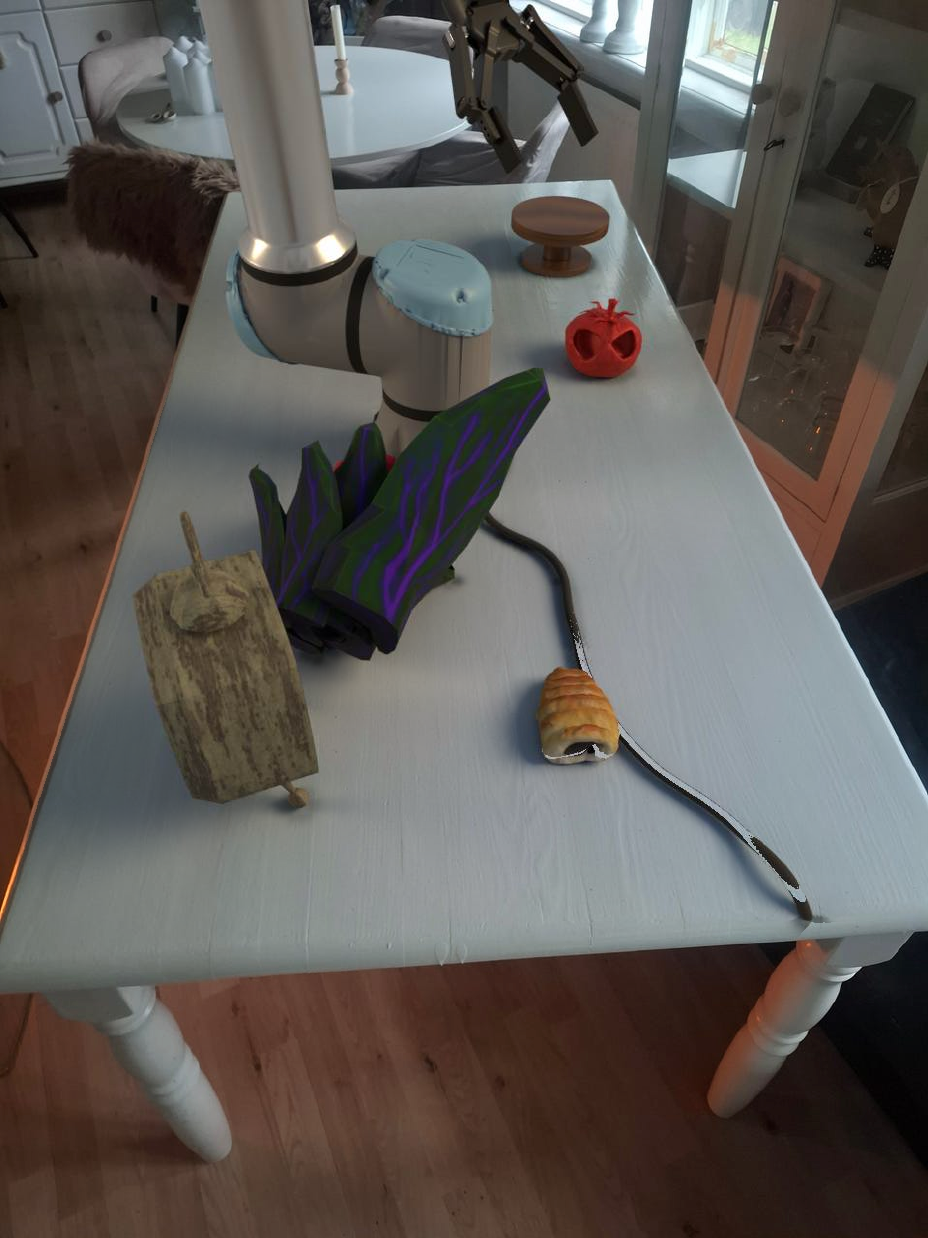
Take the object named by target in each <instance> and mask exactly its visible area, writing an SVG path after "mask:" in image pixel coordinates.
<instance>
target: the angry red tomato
mask: <svg viewBox="0 0 928 1238" xmlns="http://www.w3.org/2000/svg"><path fill="white" fill-rule="evenodd" d="M589 303H590V304H595V305H596V307H593V308H590V309H585V310H583V311H580V312H579V313H578V314H579V315H576V316H575V317H574V318H573V320H571V321H570V322H569V323H568V324H567V325H566V327H565V332H564V349H565V353H566V355H567V358H568V359H569V361H570V363H571V365H572V366H573V367H574V369H575V370H576V371H578V372H579V373H581V374H582V375H585V376H588V377H590V378H591V377H592V378H615V377H619V376H621V375H623V374H625V373H626V372H627V371H629V370H630V369H632V368H633V366H634V365H636V362H637V359H638V357H639V355H640V353H641V349H642V343H643V334H642V331H641V330H640V328H639V327H638V325H637V324H635V322H634V321H633V320H631V319H630V318H629V317H628V316H635V314H636V312H635V313H633V312H630V311H626V310H622V311H620V312H618V311H616V306H617V305H618V303H620V299H618V300H617V299H616V298H608V301H607V303H608V304H607V307H606V308H603V307H602V304H601V302H600V301H597V300H596V301H589ZM626 315H627V316H626Z"/></svg>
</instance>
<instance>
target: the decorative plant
mask: <svg viewBox="0 0 928 1238" xmlns="http://www.w3.org/2000/svg"><path fill="white" fill-rule="evenodd" d="M550 401H552V400H551V395H550V391H549V387H548V382H547V379H546V375H545V370H544V368H543V367H532V368H529V369H526V370H524V371H523V370H522V371H520V372H517V373H515V374H512V375H508V376H506V377H503V378H502V379H499V380H498V381H496V382H494V383H493V384H490V385H489V387H487V388H485V389H484V390H482V391H480V392H478V393H476V394H474V395H473V396H471V397H469V398H467V399H465V400H463V401H462V402H460V403H458V404H456V405H454V406H452V407H451V408H449V409H447V410H445V411H443V412H442V413H440V414H438V415H436V416H435V417H434V418H433V419H432V420H431V421H430V422H429V423H428V424H427V425H426V426H425V428H424V429H423V430H422V431H421V432H420V433H419V434H418V435H417V436H416V437H415V439H414V440H413V441H412V442H411V443H410V444H409V445H408V446H407V447H406V448H405V450H404V451H403V452H402V453H401V454H400V455H399V457H398V459H397V460H396V459H395V458H394V457H393V456H391V455H388V454H386V450H385V446H384V442H383V437H382V434H381V431H380V429H379V428H378V426H377V424H376V421H375V422H373V421H371V422H369V423H365V424H362V425H359V426H358V427H357V429H356V430H355V431H354V434H353V437H352V439H351V442H350V444H349V445H348V446H349V447H348V449H347V451H346V453H345V455H344V459H341V460H339V461H337V462H336V464H335V466H334V468H333V466H332V463H331V461H330V460H329V458H328V457H327V455H326V453H325V451H324V450H323V448H322V446H321V443H320V441H319V440H318V439H317V440H315V441H314V442H312V443H309V444H308V445H306V446H304V447H302V448H301V463H300V464H301V467H300V468H301V469H300V472H299V477H298V479H297V481H298V482H297V484H296V490H295V493H294V495H293V497H292V499H291V502H290V504H289V506H288V509H287V511H286V512H285V509H284V508H283V505H282V503H281V500H280V498H279V492H278V487H277V486H278V485H276V483H275V482H274V480H273V479H272V478H271V476H270V475H269V474H268V473H266V472H265V471H264V470H262V469H261V468H260V467H259V466H260V463H261V462H259V463H258V464H256V465H255V466H254V467H253V468H251V469H250V471H249V474H248V480H249V483H250V486H251V489H252V494H253V499H254V503H255V508H256V513H257V518H258V526H259V533H260V541H261V543H260V544H261V545H260V546H261V565H262V567H263V570H264V573H265V575H266V578H267V580H268V583H269V586H270V588H271V591H272V594H273V596H274V599H275V602H276V605H277V608H278V610H279V613H280V616H281V619H282V622H283V625H284V627H285V630H286V633H287V636H288V639H289V642H290V645H291V647H293V648H295V649H297V650H299V651H301V652H303V653H306V654H307V653H308V654H313V655H317V656H318V655H323V652H324V650H325V649H326V650H338V651H340V652H342V653H344V654H346V655H349V656H351V657H353V658H355V659H358V660H360V661H368V662H370V661H371V659H372V657H373V654H374V653H375V650H376V649H377V650H378V652H380V653H382V654H383V655H389V654H391V653H393V652H394V651H396V649H397V647H398V644H399V642H400V639H401V637H402V635H403V632H404V631H405V628H406V625H407V624H408V621H409V619H410V615H411V614H412V611H413V610H414V608H416V606H417V605H418V604H420V602H421V601H422V600H423V599H424V598H425V597H426V596H427V595H428V594H429V593H430V592H431V591H432V590H434V589H436V588H437V587H440V586H441V585H443V584H445V583H446V582H449V581H453V580H455V578H456V575H455V574H456V573H455V571H456V569H455V567H454V565H453V564H454V562H456V560H457V559H458V558H459V557H460V555H461V554H463V552H464V551H465V549H466V548H468V546H469V544H470V542H471V541H472V540H473V538H474V536H475V534H476V533H477V532H478V530H479V528H480V527H481V525H482V523H483V522H484V521H485V520H484V519H485V517H486V515H487V514H488V512H490V511H491V509H492V508H493V506H494V504H495V503H496V501H497V500H498V499H499V497H500V495H501V494H500V493H501V491H502V489H503V486H504V483H505V480H506V478H507V475H508V472H509V470H510V468H511V465H512V463H513V460H514V458H515V454H516V452H517V451H518V450H519V448H520V446H521V445H522V443H523V442H524V440H525V439H526V438H527V436H528V434H529V433H530V431H532V428H533V427H534V425H535V424H536V422H537V421H538V419H539V418H540V416H541V415H542V414H543V412H544V411H545V409H546V407H547V406H548V405H549V403H550Z"/></svg>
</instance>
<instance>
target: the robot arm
mask: <svg viewBox="0 0 928 1238" xmlns="http://www.w3.org/2000/svg"><path fill="white" fill-rule="evenodd" d="M440 1H441V6H442V8H443V10H444V12H445V14H446V16H447V18H448V20H449V21H450V23H451V24H450V25H449V26H448V28H447V29H446V31H445V33H444V34H443V35H442V37H441V41H442V44H443V46H444V48H445V51H446V53H447V56H448V64H449V70H450V79H451V86H452V94H453V102H454V109H455V114H456V116H457V118H458V119H460V120H464V119H466V123H468V124H469V125H470V126H474V125H475V124H477V126H478V128H479V130H480V132H481V134H482V135H483V137H484V139H485V142H486V143H487V144H488V145H489V146H492V149H493V151H494V152H495V154H496V156H497V159H498V161H499V162H500V164H501V166H502V168H503V170H504V172H505V174H506V175H509V174H512V173H513V171H515V170H516V168H518V167H519V165H520V164H521V163H522V162H524V160H525V158H524V156H523V154H522V152H521V150H520V148H519V147H518V144H517V143H516V141H515V138H514V136H513V135H512V133H511V130H510V129H509V126H508V125H507V123H506V121H505V119H504V117H503V115H502V113H501V110H500V109H499V107H498V105H492V106H491V107H490V105H491V93H492V82H493V73H494V72H493V71H494V65H496V64H498V63H500V62H508V61H512V62H513V63H515V64H516V63H517V64H519V63H521V64H522V65H524V66H525V67H526V68H527V69H529V70H530V71H531V72H533V73H534V74H535V75H537V76H538V77H539V78H540V79H542V80H543V81H544V82H546V83H547V84H548V85H550V86H551V87H553V88H554V89H555V90H556V91H557V92H559V94H558V95H557V96H556V99H557V101H558V103H559V105H560V107H561V109H562V111H563V113H564V116H565V118H566V119H567V121H568V123H569V125H570V127H571V129H572V132H573V133H574V135H575V137H576V140H577V141H578V144H579V146H580V148H583V147H585V146H587V145H588V144H589V143H590V142H591V141H592V140H593V139H594V138H596V136H597V135H598V134H599V130H598V128H597V126H596V124H595V122H594V120H593V117H592V116H591V113H590V111H589V109H588V104H587V101H586V99H585V97H584V95H583V94H582V91H581V90H580V87H579V84H578V80H579V79H580V78H581V77H582V75H583V74H584V73H585V68H584V66H583V65H582V64H581V62H580V61H579V60H578V59H577V58H576V57H575V56H574V55H573V54H572V52H571V51H570V50H569V49H568V48H567V47H566V46H565V45H564V43H562V41H561V40H560V39H559V37H557V36H556V35H555V34H554V33H553V31H552V30H551V29H550V28H549V27H548V26H547V25H546V23H545V22H543V20H542V19H541V17H540V15H539V13H538V12H537V10H536V8H535V6H534V5H533V4H531V3H529V4H527V5H526V6H525V7H524V9H523V10H522V11H520V12H516V10H515V9H514V8H513V6H512V5H511V4H510V3H511V2H510V0H440ZM197 2H198V6H199V10H200V15H201V19H202V24H203V29H204V33H205V37H206V42H207V46H208V51H209V56H210V60H211V63H212V69H213V73H214V78H215V81H216V82H215V83H216V86H217V91H218V96H219V99H220V105H221V109H222V113H223V117H224V122H225V126H226V132H227V135H228V139H229V144H230V148H231V153H232V157H233V162H234V166H235V170H236V176H237V180H238V184H239V189H240V193H241V197H242V201H243V206H244V207H243V208H244V211H245V215H246V219H247V225H246V226H245V227H244V229H243V230H242V232H241V233H240V234H239V236H238V239H237V247H236V248H235V250H234V251H233V253H232V254H231V256H230V258H229V261H228V263H227V267H226V274H225V282H226V284H227V285H228V289H227V291H225V301H226V306H227V311H228V315H229V318H230V322H231V324H232V326H233V329H234V331H235V334H236V335H237V336H238V339H240V341H241V343H242V344H243V345H244V346H245V347H246V348H247V349H248V350H249V351H250V352H252V353H253V354H255V355H257V356H259V357H262V358H265V359H270V360H273V361H277V362H279V363H281V364H282V363H283V364H287V365H290V366H291V365H292V366H294V365H295V366H296V365H302V366H303V365H304V366H310V367H316V368H321V369H329V370H335V371H341V372H348V373H354V374H360V375H367V376H373V377H378V378H380V382H381V394H382V395H381V397H382V399H381V404H380V407H379V410H378V411H377V412H376V413H375V414H374V416H373V420H372V422H375V423H376V424H377V426H378V428H379V429H380V431H381V434H382V437H383V442H384V446H385V450H386V454H388V455H391V456H393V457H394V458H395V459H396V460H397V459H398V457H399V455H400V454H401V453H402V452H403V451H404V450H405V448H406V447H407V446H408V445H409V444H410V443H411V442H412V441H413V440H414V439H415V437H416V436H417V435H418V434H419V433H420V432H421V431H422V430H423V429H424V428H425V426H426V425H427V424H428V423H429V422H430V421H431V420H432V419H433V418H434V417H435V416H436V415H438V414H440V413H442V412H443V411H445V410H447V409H449V408H451V407H452V406H454V405H456V404H458V403H460V402H462V401H463V400H465V399H467V398H469V397H471V396H473V395H474V394H476V393H478V392H480V391H482V390H484V389H485V388H487V387H489V386H490V372H491V370H490V369H491V349H492V329H493V328H492V327H493V324H494V319H495V318H494V310H493V299H492V297H493V295H492V292H493V291H492V281H491V277H490V275H489V272H488V271H487V269H486V267H485V266H484V265H483V264H482V263H480V261H479V260H478V259H477V258H476V257H475V256H474V255H473V254H471V253H469V252H468V251H466V250H464V249H462V248H461V247H458V246H456V245H453V244H450V243H447V242H442V241H438V240H434V239H428V238H413V239H412V240H411V241H410V240H406V239H399V240H394V241H391V242H389V243H387V244H385V245H383V246H381V247H380V248H379V250H377V252H376V254H375V256H372V255H366V254H360V253H359V249H358V242H357V234H356V231H355V227H354V226H353V224H352V223H351V222H350V221H349V220H348V219H346V217H344V216H342V215H341V214H340V213H338V210H337V201H336V196H335V195H336V193H335V188H334V180H333V173H332V165H331V159H330V151H329V145H328V137H327V131H326V130H327V129H326V122H325V115H324V107H323V101H322V93H321V86H320V79H319V72H318V64H317V56H316V51H315V41H314V34H313V29H312V22H311V21H312V20H311V14H310V7H309V0H197ZM521 42H522V44H521ZM470 49H471V50H472V52H473V53H472V61H471V56H470V55H471V54H470ZM472 69H473V70H472ZM489 107H490V109H489ZM465 117H466V118H465ZM483 521H485V523H487V525H488V526H490V527H491V528H492V529H493V530H495V532H497V533H499V534H500V535H502V536H504V537H505V538H507V539H510V540H512V541H514V542H516V543H518V544H520V545H523V546H525V547H527V548H528V549H529V548H530V549H531V550H533V551H535V552H537V553H538V554H540V555H541V556H543V557H544V558H545V559H546V560H547V561H548V563H550V564H551V566H552V567H553V570H555V572H556V574H557V576H558V579H559V582H560V583H559V584H560V587H561V594H562V595H561V596H562V603H563V610H564V615H565V619H566V623H567V626H568V630H569V635H570V638H571V643H572V649H573V652H574V658H575V661H576V665H577V669H579V670H582V667H581V664H580V660H579V657H578V653H577V649H576V644H575V640H576V641H577V643H579V638H580V640H581V643H580V645H581V644H582V648H583V653H584V656H585V660H586V663H587V666H588V669H589V672H590V674H591V676H592V679H593V680H594V682H595V683H596V680H595V678H594V677H593V674H592V671H591V669H590V667H589V664H588V659H587V657H586V652H585V649H584V643H583V640H582V635H581V631H580V627H579V623H578V620H577V616H576V613H575V608H574V603H573V594H572V588H571V582H570V578H569V575H568V572H567V570H566V568H565V566H564V565H563V563H562V561H561V560H560V558H559V557H558V556H557V555H556V554H555V553H554V552H553V551H551V550H550V549H549V548H548V547H546V546H545V545H543V544H542V543H541V542H538V541H536V540H534V539H533V538H530V537H527V536H526V535H523V534H521V533H519V532H517V531H514V530H512V529H510V528H508V527H507V526H506V525H503V524H502V523H501V522H499V520H498V519H496V518H495V517H494V516H493V515H492V513H491V512H490V511H489V512H488V514H487V515H486V517H485V519H484V520H483ZM573 612H574V613H573ZM570 620H571V621H570ZM576 623H577V624H576ZM571 626H572V627H571ZM578 631H579V635H580V636H579V635H578ZM573 633H574V635H575V636H576V637H575V636H574V635H573ZM577 636H578V638H577ZM574 639H575V640H574ZM579 648H580V646H579ZM582 661H583V660H582ZM617 721H618V723H619V724H620V725H621V726H622V724H621V723H620V722H619V720H618V719H617ZM622 728H623V729H624V730H625V731H626V733H627V734H628V735H629V736H630V737H631V738H632V739H633V737H632V736H631V735H630V733H628V732H627V730H626V729H625V728H624V727H623V726H622ZM618 741H620V742H621V744H622V745H623V746H624V747H625V748H626V749H627V751H629V752H630V753H631V755H632V756H633V757H634V758H635V759H636V760H637V761H638V762H639V763H640V764H641V765H643V766H644V768H645V769H646V770H648V771H649V772H650V773H651V774H653V775H654V776H655V777H656V778H658V779H659V780H660V781H661V782H663V783H665V785H667V786H669V787H670V788H672V789H673V790H674V791H676V792H677V793H679V794H681V795H682V796H684V797H685V798H687V799H688V800H690V801H692V802H694V803H695V804H696V805H698V806H699V807H701V808H702V809H703V810H705V811H706V812H707V813H709V814H710V815H712V816H713V817H714V818H715V819H717V820H718V821H719V822H720V823H721V824H722V825H724V826H725V827H726V828H727V829H728V830H729V831H731V832H732V833H733V834H734V835H735V836H736V837H737V838H738V839H740V840H741V841H742V842H743V843H744V844H745V845H746V846H747V847H749V848H750V849H751V850H752V851H754V853H756V854H757V855H758V856H759V854H758V853H757V852H756V851H755V850H754V849H753V848H752V847H751V846H750V845H749V844H748V842H747V841H746V840H745V839H744V838H743V836H742V835H741V834H740V833H739V832H738V831H737V830H736V829H735V828H734V827H733V826H732V825H731V824H730V823H729V822H728V821H727V820H726V819H725V818H724V817H723V816H721V815H720V814H719V813H718V812H716V811H715V810H714V809H712V808H711V807H710V806H708V805H707V804H705V803H704V802H703V801H701V800H700V799H698V798H697V797H695V796H693V795H692V794H690V793H689V792H687V791H686V790H684V789H683V788H681V787H679V786H678V785H676V784H675V783H673V782H672V781H670V780H669V779H668V778H666V777H665V776H663V775H662V774H661V773H659V772H658V771H657V770H655V769H654V768H653V767H652V766H651V765H650V764H648V763H647V762H646V761H645V760H644V759H643V758H642V757H641V756H640V755H639V754H638V753H637V752H636V751H635V750H634V749H633V748H632V747H631V746H630V745H629V743H628V742H627V741H626V740H625V739H624V738H623V737H622V736H621V734H620V735H619V739H618ZM635 743H636V744H637V745H638V746H639V747H640V748H641V749H642V750H643V751H644V752H645V753H646V754H647V755H648V756H649V757H650V758H652V757H651V756H650V755H649V754H648V753H647V752H646V751H645V750H644V749H643V748H642V746H640V745H639V744H638V743H637V742H636V741H635ZM654 761H655V762H656V763H657V764H658V765H660V764H659V763H658V762H657V761H656V760H654ZM661 767H662V768H663V769H665V768H664V767H663V766H661ZM665 770H666V771H667V772H669V771H668V770H667V769H665ZM669 773H670V774H672V773H671V772H669ZM672 775H673V776H675V775H674V774H672ZM675 777H676V778H678V777H677V776H675ZM678 779H679V780H681V779H680V778H678ZM681 781H682V782H684V781H683V780H681ZM684 783H685V784H687V783H686V782H684ZM687 785H688V786H690V787H692V786H691V785H689V784H687ZM692 788H693V789H695V788H694V787H692ZM695 790H696V791H698V790H697V789H695ZM698 792H699V793H701V794H703V793H702V792H700V791H698ZM703 795H704V796H705V797H707V798H708V799H710V800H711V801H713V800H712V799H711V798H709V797H708V796H707V795H705V794H703ZM713 802H714V803H715V804H717V803H716V802H715V801H713ZM717 805H718V806H719V807H721V806H720V805H719V804H717ZM721 808H722V807H721ZM722 809H723V810H725V809H724V808H722ZM726 812H727V813H728V814H729V815H730V816H732V814H730V813H729V812H728V811H726ZM733 818H734V819H735V820H736V821H737V822H739V821H738V820H737V819H736V818H735V817H733ZM741 825H742V826H743V827H745V826H744V825H743V824H741ZM748 831H749V832H751V831H750V830H748ZM749 836H750V835H749ZM751 837H752V836H751ZM755 837H756V836H755ZM755 837H753V838H750V839H751V840H752V841H751V842H752V843H753V842H754V843H753V845H754V846H756V850H759V853H760V854H762V857H764V858H765V860H767V862H768V863H769V864H770V865H771V866H772V868H774V869H775V871H776V872H777V873H778V874H779V876H781V878H782V879H783V880H784V881H785V882H787V884H788V885H791V886H792V887H794V888H795V889H799V885H800V883H799V881H798V880H797V878H796V877H795V875H794V873H792V871H791V870H790V869H789V867H788V866H787V864H785V863H784V861H783V860H782V859H781V858H780V857H779V856H778V855H777V854H776V853H775V852H774V851H773V850H771V849H770V848H769V846H767V845H766V844H765V843H764V842H762V841H761V840H760V839H759V838H758V837H757V838H758V839H759V840H758V839H757V838H755ZM763 843H764V844H765V845H764V844H763ZM772 868H771V869H772ZM775 871H774V872H775ZM776 872H775V873H776ZM779 876H778V877H779ZM797 881H798V882H797ZM798 883H799V884H798ZM797 887H798V888H797ZM787 891H788V893H789V894H790V896H791V898H792V900H793V903H794V905H795V907H796V909H797V912H798V915H799V916H800V917H801V919H803V920H804V921H806V922H811V921H812V920H813V911H812V909H811V905H810V903H809V901H808V898H807V896H806V895H805V897H806V901H805V902H800V901H799V900H797V899H796V898H795V897H793V895H792V894H791V893H790V891H789V890H788V889H787Z"/></svg>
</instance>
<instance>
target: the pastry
mask: <svg viewBox="0 0 928 1238" xmlns="http://www.w3.org/2000/svg"><path fill="white" fill-rule="evenodd" d="M593 679H594V678H593ZM593 679H592V678H591V677H590V676H589V675H588V673H587V672H585V671H583V670H579V668H566V667H564V666H558V667H556V668H555V669H553V670H552V671H551V672H549V673H548V675H546V677H545V680H544V681H543V685H542V687H541V692H540V693H539V698H540V699H538V705H539V704H540V705H539V706H538V708H537V710H536V712H535V718H536V720H538V721H537V722H538V726H539V731H540V743H541V746H542V745H543V750H542V749H541V752H542V751H543V753H544V754H545V755H548V756H550V757H561V756H566V755H570V754H574V753H577V752H578V753H579V752H581V751H583V750H585V749H586V750H585V751H584V752H583V753H581V754H578V755H574V756H568V757H562V758H556V759H548V758H546V757H545V756H544V755H543V754H542V756H543V758H545V759H547V761H549V762H550V763H551V764H555V765H573V764H577V763H581V762H584V761H588V762H604V761H607V760H608V759H610V758H607V759H605V758H599V757H597V756H595V750H594V748H593V746H592V745H594V744H596V746H597V747H598V748H599V751H600V752H604V754H606V755H610V754H613V753H615V754H616V752H617V750H618V749H619V729H618V722H619V721H618V722H617V720H618V718H617V717H616V715H615V711H614V707H613V706H612V704H611V702H610V700H609V698H608V697H607V696H606V695H605V693H604V691H603V689H602V688H600V687H599V685H598V684H597V683H596V681H595V679H594V680H593ZM594 681H595V682H594Z"/></svg>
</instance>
